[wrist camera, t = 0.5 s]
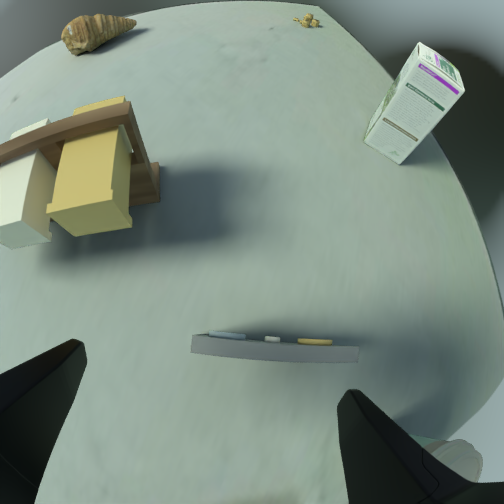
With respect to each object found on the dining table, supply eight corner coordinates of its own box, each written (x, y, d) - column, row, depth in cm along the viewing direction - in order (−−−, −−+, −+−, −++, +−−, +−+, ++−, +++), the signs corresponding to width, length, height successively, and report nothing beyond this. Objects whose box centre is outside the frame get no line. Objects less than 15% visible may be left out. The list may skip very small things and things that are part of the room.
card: (319, 355, 22) (357, 362, 15) (199, 346, 21) (190, 352, 14) (320, 339, 22) (359, 340, 15) (201, 329, 21) (193, 327, 15)
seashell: (132, 25, 34) (128, -7, 26) (142, 37, 32) (137, 1, 25) (67, 53, 31) (57, 23, 23) (69, 68, 29) (56, 34, 22)
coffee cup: (380, 399, 21) (473, 422, 9) (415, 441, 20) (494, 468, 8) (314, 461, 19) (378, 529, 7) (358, 497, 17) (421, 550, 6)
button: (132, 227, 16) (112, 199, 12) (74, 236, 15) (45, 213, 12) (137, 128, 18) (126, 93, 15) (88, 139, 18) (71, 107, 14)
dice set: (308, 20, 40) (310, 13, 39) (322, 30, 39) (325, 23, 38) (289, 19, 39) (290, 12, 38) (302, 29, 38) (305, 22, 36)
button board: (159, 201, 24) (128, 113, 13) (9, 231, 21) (-55, 185, 10) (159, 166, 25) (135, 75, 14) (14, 200, 22) (-41, 148, 11)
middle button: (51, 241, 15) (21, 220, 11) (11, 249, 14) (-19, 232, 11) (67, 145, 17) (49, 115, 14) (29, 157, 17) (9, 132, 13)
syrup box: (400, 167, 29) (469, 92, 15) (360, 142, 29) (419, 54, 15) (404, 140, 31) (462, 71, 17) (368, 117, 31) (418, 39, 17)
